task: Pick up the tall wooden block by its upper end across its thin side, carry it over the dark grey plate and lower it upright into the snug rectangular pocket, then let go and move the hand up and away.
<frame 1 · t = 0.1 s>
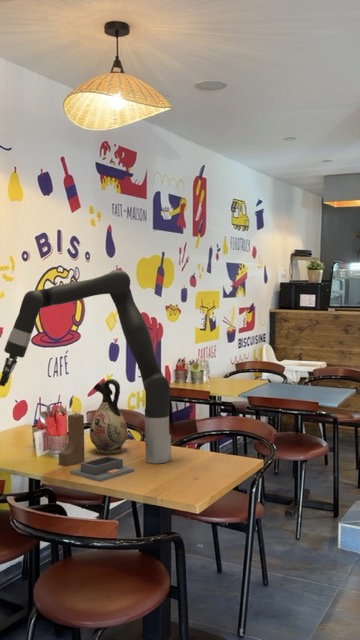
hand: (2, 384, 226), 31 cm above the table, tool tilted 20°, fingers open, 8 cm apart
pocket plate: (102, 472, 221), on the table
ceramic jug: (110, 452, 251), on the table
wooden block: (71, 463, 235), on the table
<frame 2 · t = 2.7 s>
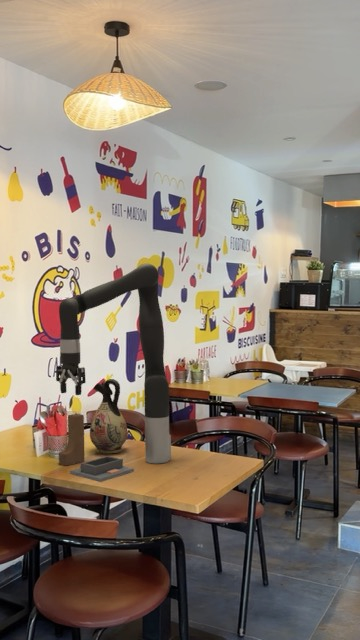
hand: (70, 393, 234), 26 cm above the table, tool pointing down, fingers open, 8 cm apart
nothing on the table moved.
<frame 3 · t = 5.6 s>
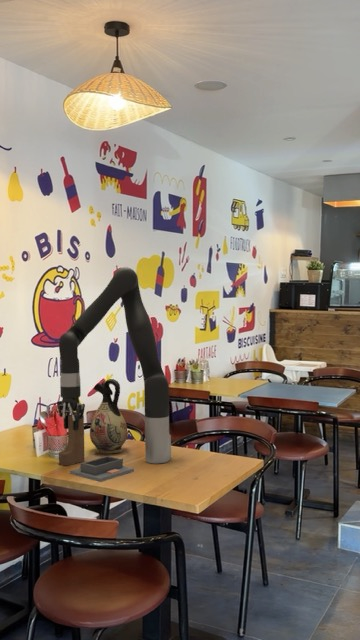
hand: (71, 429, 234), 13 cm above the table, tool pointing down, fingers closed on wooden block, 4 cm apart
wooden block: (71, 463, 235), on the table, touching gripper
everything else where it was.
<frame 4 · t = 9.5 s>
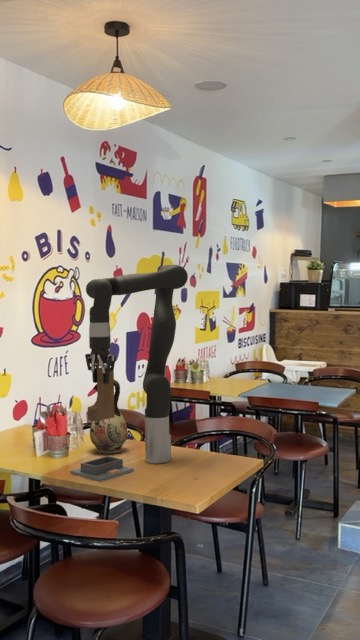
hand: (100, 382, 220), 32 cm above the table, tool pointing down, fingers closed on wooden block, 4 cm apart
wooden block: (101, 419, 220), point 19 cm above the table, touching gripper
everything else where it was.
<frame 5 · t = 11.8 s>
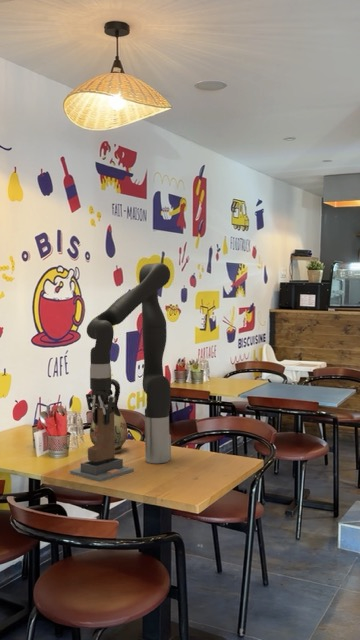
hand: (101, 423, 221), 18 cm above the table, tool pointing down, fingers closed on wooden block, 4 cm apart
wooden block: (101, 459, 221), point 5 cm above the table, touching gripper
everything else where it was.
when the fingers open (15 cm above the table, at t = 13.6 s): wooden block drops 1 cm, resting on pocket plate.
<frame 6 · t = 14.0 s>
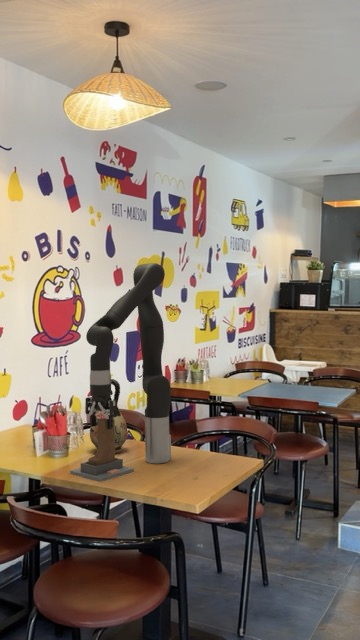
hand: (101, 427, 221), 16 cm above the table, tool pointing down, fingers open, 8 cm apart
wooden block: (101, 470, 221), point 1 cm above the table, touching pocket plate
everything else where it was.
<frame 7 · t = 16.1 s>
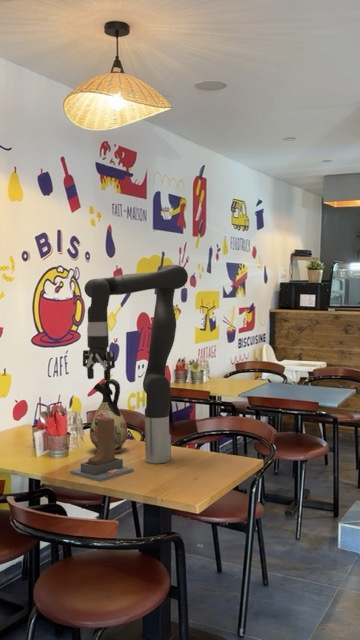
hand: (98, 379, 221), 33 cm above the table, tool pointing down, fingers open, 8 cm apart
nothing on the table moved.
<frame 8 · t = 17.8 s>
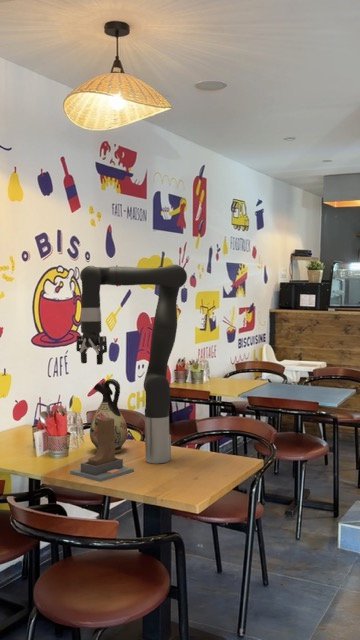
hand: (91, 363, 229), 38 cm above the table, tool pointing down, fingers open, 8 cm apart
nothing on the table moved.
at the end: wooden block 0.1 cm off-centre on the pocket plate, point 0.8 cm above the pocket plate's base; wooden block tilted 0°; the gripper is holding nothing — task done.
